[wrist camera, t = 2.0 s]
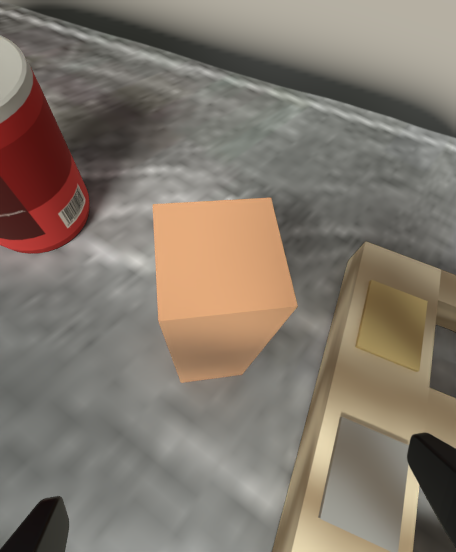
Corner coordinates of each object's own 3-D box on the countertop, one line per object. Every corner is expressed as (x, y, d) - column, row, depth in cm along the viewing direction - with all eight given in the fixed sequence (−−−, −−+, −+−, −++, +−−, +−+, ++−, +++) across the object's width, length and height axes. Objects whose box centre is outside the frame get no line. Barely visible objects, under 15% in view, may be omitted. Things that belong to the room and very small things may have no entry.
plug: (242, 374, 21) (297, 306, 9) (181, 382, 20) (158, 321, 9) (233, 316, 23) (270, 197, 11) (176, 323, 22) (152, 204, 10)
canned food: (79, 164, 27) (12, 15, 18) (105, 237, 24) (42, 108, 15) (-18, 189, 25) (-155, 37, 16) (-3, 271, 23) (-159, 148, 13)
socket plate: (536, 707, 15) (618, 774, 12) (265, 574, 17) (280, 606, 14) (523, 328, 24) (569, 314, 21) (347, 261, 25) (367, 239, 22)
